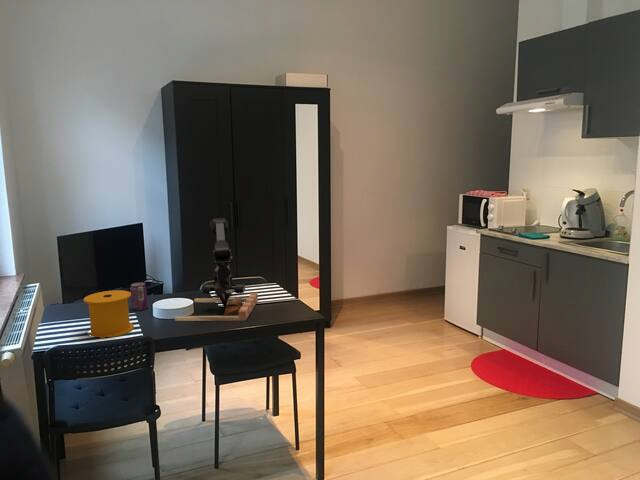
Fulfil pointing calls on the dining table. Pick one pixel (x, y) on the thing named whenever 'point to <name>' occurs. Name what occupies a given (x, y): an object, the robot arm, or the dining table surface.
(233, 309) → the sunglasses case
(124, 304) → the spool
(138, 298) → the beverage can
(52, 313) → the dining table surface
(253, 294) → the guide channel
